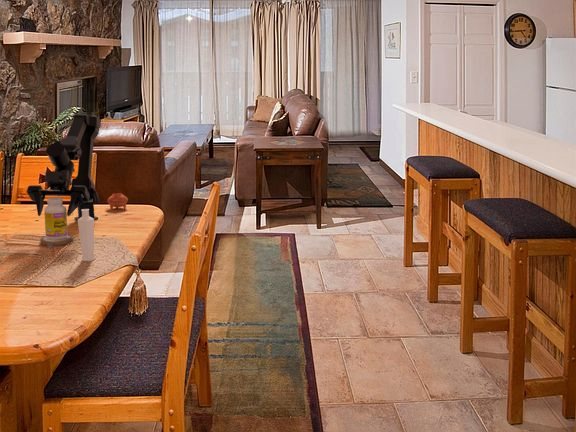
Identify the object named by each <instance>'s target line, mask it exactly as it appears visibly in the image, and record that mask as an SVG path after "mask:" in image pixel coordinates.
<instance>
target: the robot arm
mask: <svg viewBox="0 0 576 432" xmlns="http://www.w3.org/2000/svg"><path fill="white" fill-rule="evenodd" d="M101 127H102V120H101V119H100V118H99V117H98V116H97V115H90V114H87V113H75V114H73V116H72V122H71V125H70V126H69V129H68V131H67V134H66V135H65V138H62V139H61V140H54V143H50V144H49V146H47V148H46V149H45V153H46V154H47V157H48V158H49V161H50V163H51V164H52V166H54V171H53V170H48V171H47V170H46V171H45V175H44V182H45V183H46V184H47V187H48V189H47V188H46V189H44V188H43V186H41V185H40V184H38V185H37V184H31V185H28V186H27V189H26V193H27V195H28V197H29V199H30V200H31V201H32V202H34V203H35V204H36V210H37V215H38V217H41V215H42V212H43V211H44V210H43V209H44V205H45V201H44V200H45V198H46V196H47V197H50V196H51V197H70V201H69V204H68V208H67V210H66V212H67V217H70V216H71V215H72V214H73V212H75V211H76V209H77V216H76V217H75V216H74V219H75V220H77V221H78V219H79V218H81V217H82V211H81V210H82V209H89V216H90V217H91V218H93V219H94V221H95V220H98V219H99V216H98V217H97V216H96V215H95V204H99V202H100V198H99V197H100V196H99V193H98V192H97V189H96V184H95V182H94V181H93V178H92V164H93V153H94V141H95V139H97V136H99V134H100V129H101ZM73 161H78V165H77V167H78V168H77V175H76V176H75V177H73V173H74V172H75V163H74V162H73ZM72 177H73V178H72ZM70 186H71V187H70Z"/></svg>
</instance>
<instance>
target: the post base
mask: <svg viewBox="0 0 576 432" xmlns="http://www.w3.org/2000/svg"><path fill="white" fill-rule="evenodd" d="M71 242H72V243H73V242H74V236H73V235H71V234H68V235H67V237H66V238H64V239H59V240H51V239H47V238H46V235H45V236H42V237H41V238H40V239H39V243H40V245H41V246H45V247H47V248H49V249H50V248H53V247H59V246H66V245H69V243H70V244H72V243H71Z"/></svg>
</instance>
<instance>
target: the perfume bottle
mask: <svg viewBox="0 0 576 432" xmlns="http://www.w3.org/2000/svg"><path fill="white" fill-rule="evenodd" d="M81 211H82V217H81V218H79V219H78V220H77V225H78V226H77V227H78V233H79V239H80V241H79V242H80V248H81V254H82V255H81V256H82V257H81V261H82V262H83V261H84V262H91V261H95V260H96V257H95V252H94V251H95V220H94V219H93V218H91V217H90V216H89V209H82V210H81Z"/></svg>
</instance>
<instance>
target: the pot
mask: <svg viewBox="0 0 576 432" xmlns="http://www.w3.org/2000/svg"><path fill="white" fill-rule="evenodd" d="M128 201H129V199H128V197H127V196H125V195H124V194H123V193H121V192H118V193H112V195H111V196H109V197H108V198H107V203H108V204H109V207H110V210H113V208H121V207H123V210H126V207H127V203H128Z"/></svg>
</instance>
